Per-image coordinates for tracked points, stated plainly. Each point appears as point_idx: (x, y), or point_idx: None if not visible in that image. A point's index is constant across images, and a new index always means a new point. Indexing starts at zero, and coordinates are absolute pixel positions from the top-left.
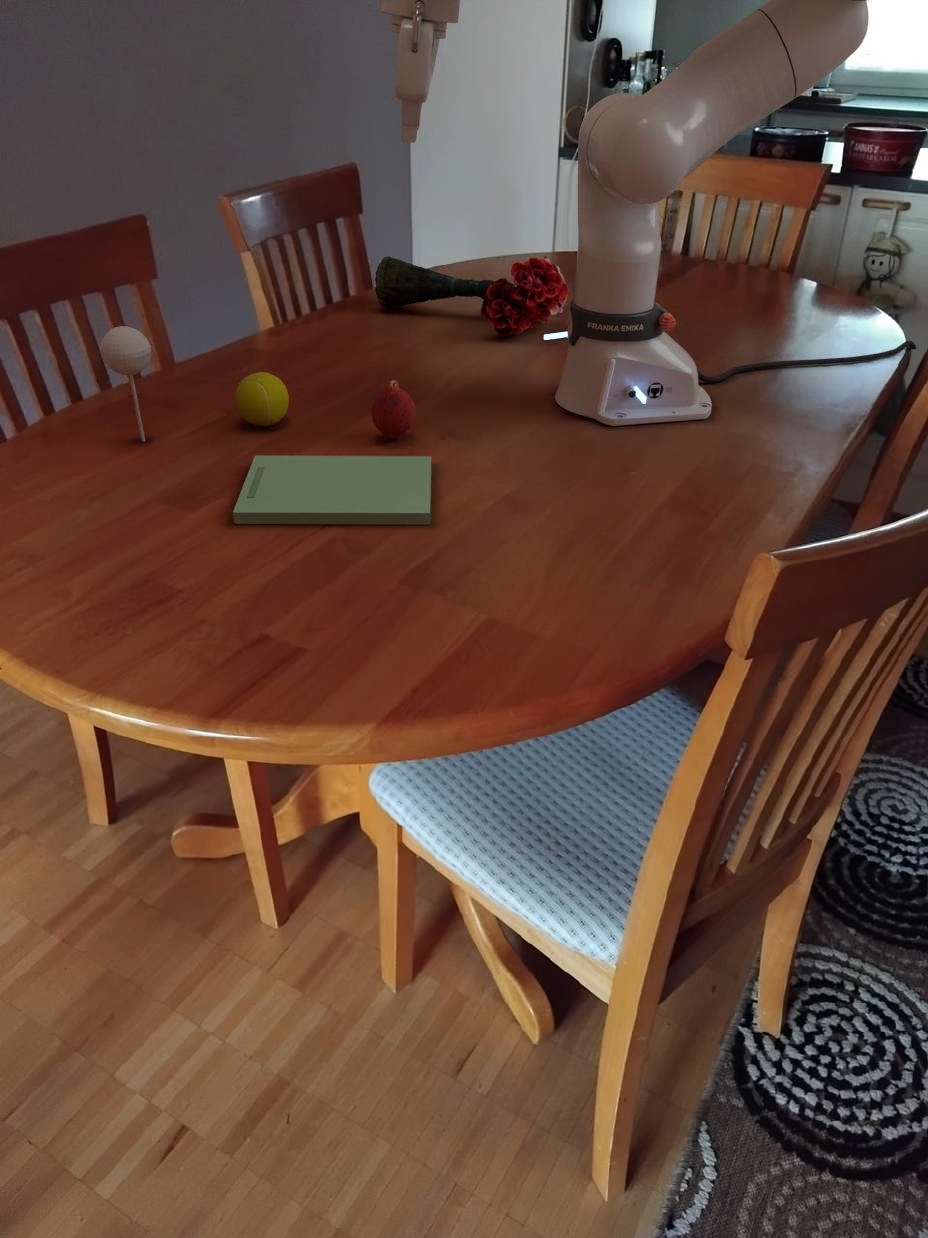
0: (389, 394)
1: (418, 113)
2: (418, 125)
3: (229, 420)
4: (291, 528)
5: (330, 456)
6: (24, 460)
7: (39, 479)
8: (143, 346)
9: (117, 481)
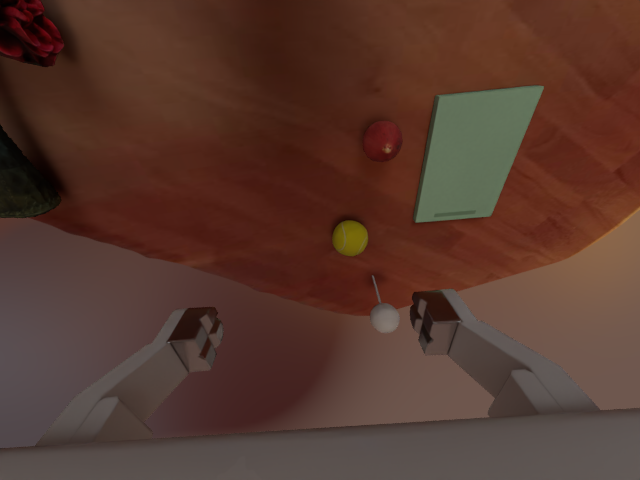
0: (395, 149)
1: (545, 358)
2: (207, 315)
3: None
4: None
5: (425, 178)
6: None
7: None
8: (392, 313)
9: (420, 272)
